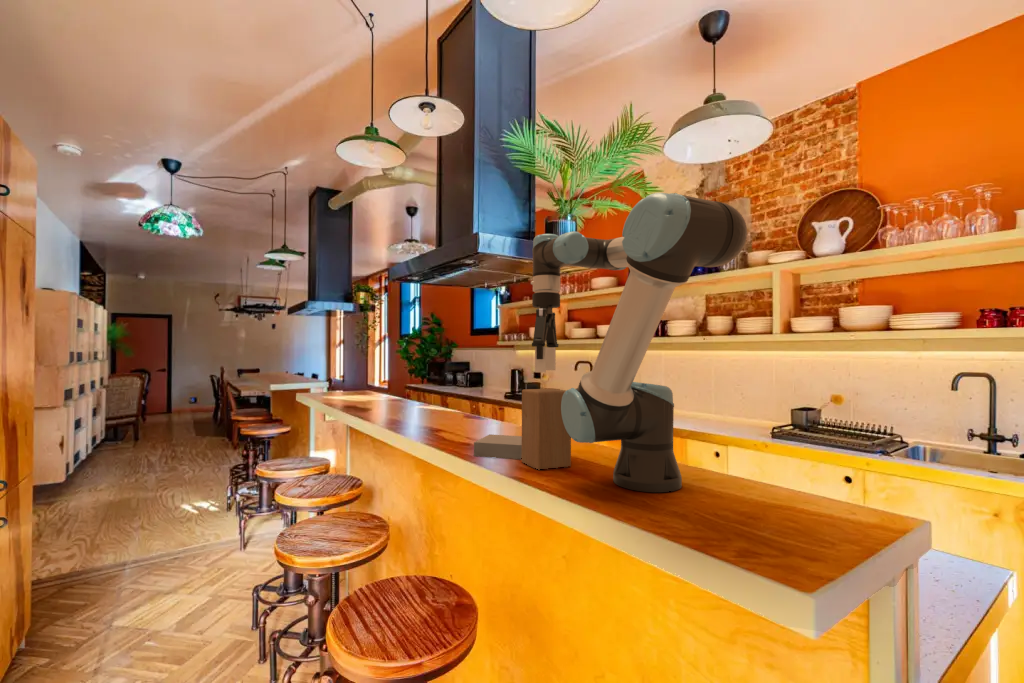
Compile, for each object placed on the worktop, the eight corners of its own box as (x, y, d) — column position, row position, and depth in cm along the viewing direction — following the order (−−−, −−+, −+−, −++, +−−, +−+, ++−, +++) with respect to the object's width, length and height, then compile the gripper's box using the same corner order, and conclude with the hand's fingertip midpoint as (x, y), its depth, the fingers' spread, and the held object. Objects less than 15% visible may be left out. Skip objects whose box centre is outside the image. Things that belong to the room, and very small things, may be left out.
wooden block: (520, 462, 128) (521, 389, 128) (552, 459, 132) (552, 388, 132) (538, 471, 119) (538, 392, 119) (571, 467, 123) (571, 391, 123)
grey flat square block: (520, 459, 131) (520, 445, 131) (473, 456, 135) (474, 442, 135) (532, 449, 145) (532, 436, 145) (489, 447, 148) (489, 434, 149)
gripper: (542, 298, 140) (541, 369, 139) (521, 287, 116) (520, 372, 115) (567, 297, 138) (566, 369, 137) (551, 286, 114) (550, 373, 113)
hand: (545, 371), depth 126 cm, fingers open, 13 cm apart
